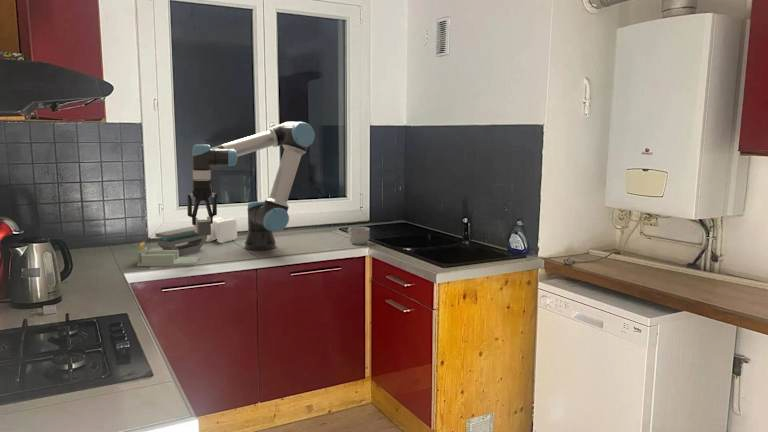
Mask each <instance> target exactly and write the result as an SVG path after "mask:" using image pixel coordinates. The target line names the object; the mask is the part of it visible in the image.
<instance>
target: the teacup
mask: <svg viewBox="0 0 768 432" xmlns="http://www.w3.org/2000/svg"><path fill="white" fill-rule="evenodd" d="M370 231H371V230H370V227H367V226H354V227H351V226H350V227H348V228H347V234H348V236H349V237H348V238H349V241H350V242H351V243H352V244H353V245H355V244H356V246H360V245H362V244H363V245H366V244H367V243H368V242H369V240H370ZM365 243H366V244H365ZM363 245H362V246H363Z"/></svg>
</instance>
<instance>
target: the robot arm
mask: <svg viewBox="0 0 768 432" xmlns="http://www.w3.org/2000/svg"><path fill="white" fill-rule="evenodd" d="M314 140H315V130H314V129H313V127H312V125H310V124H309V123H307V122H304V121H285V122H283V123H281V124H277V125H275V126H271V127H269V128H267V131H262V132H258V133H256V134H253V135H250V136H249V135H248V136H246V137H243V138H239V139H235V140H233V141H229V142H227V143H226V142H225V143H223V144H220V145H216V146H211V145H210V144H200V143H199V144H198V143H196V144H194V145H192V149H191V151H192V152H191V155H192V156H191V157H192V192H191V193H186V195H185V197H186V199H187V201H186V203H187V216H188V217H189V218H191V224H192V226H194V232H196V233H198V220H199V217H197V215H198V210H199V207H200V203H201V202H202V201H203V202H204V204H205V207H206V211H207V214H208V215H207V216H206V220H208V221H211V224H212V223H213V219H214V217H215V216H218V213H217V212H218V209H217V208H218V206H217V205H218V203H217V202H218V201H217V200H218V199H217V198H218V196H219V194H218V193H217V192H212V185H211V184H212V183H211V179H212V177H211V176H212V175H211V174H212V173H211V170H212V169H211V167H232V166H235V165H237V163H238V157H241V156H244V155H248V154H251V153H254V152H257V151H259V150H263V149H266V148H270V147H274V148H276V147H279V146H280V147H283V149H284V150H283V154H282V156H281V159H280V163H279V165H278V169H277V172H276V175H275V179H274V180H273V185H272V188H271V191H270V195H269V197H267V198H265V200H263V201H260V200H259V201H250V202H249V203H247V230H248V232H247V235H246V238H245V242H244V248H245V249H247V250H252V251H253V250H254V251H265V250H272V249H275V248H276V247H277V244H276V243H277V242H276V238H275V236H274V233H273V232H275V233H277V232H281V231H282V230H284V229H285V228H286V227H287V226H288V224H289V221H290V215H289V213H288V211H289V208H290V206H289V204H288V200H289V196H290V193H291V191H292V186H293V184H294V181H295V178H296V176H297V175H296V174H297V170H298V168H299V164H300V162H301V158H302V156H303V155H305V154H306V153H307V149H308V147H310V146H311V145H312V144H313V143H314ZM193 197H194V198H195V200H194V205H193V200H192V199H193ZM210 197H211V198H212V199H211V203H210Z"/></svg>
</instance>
